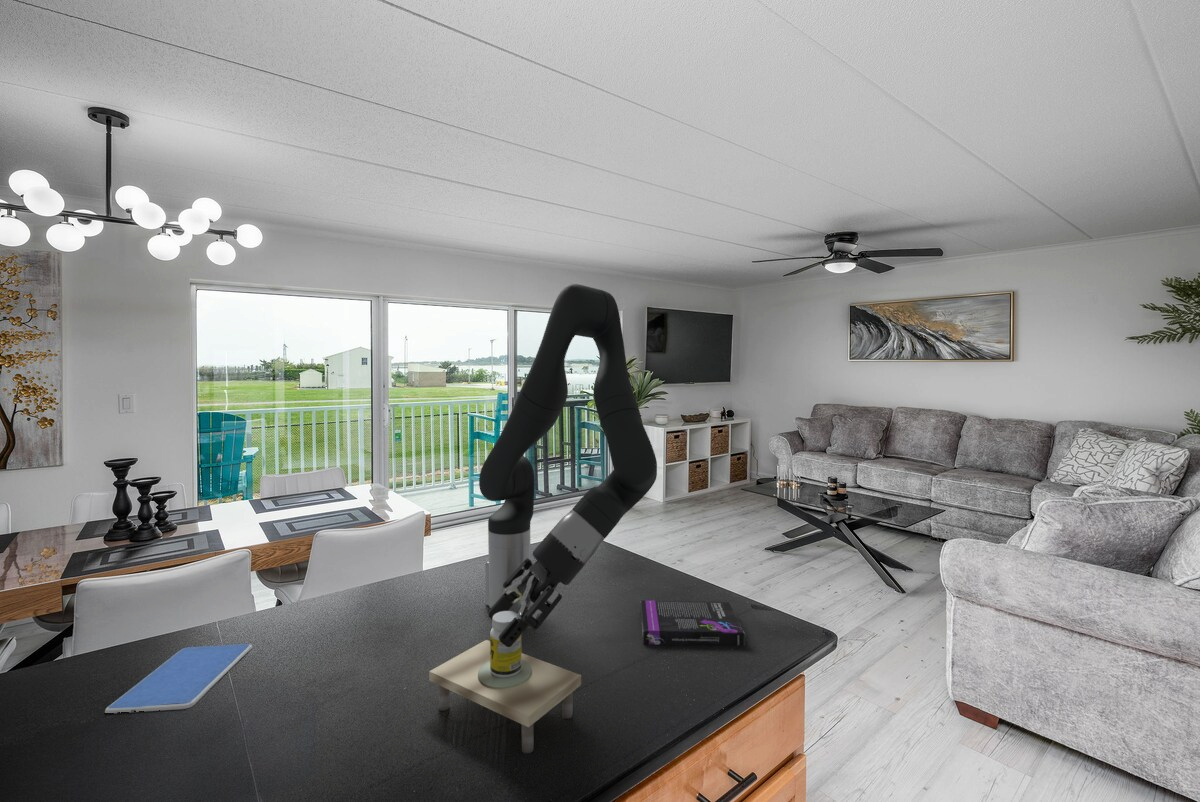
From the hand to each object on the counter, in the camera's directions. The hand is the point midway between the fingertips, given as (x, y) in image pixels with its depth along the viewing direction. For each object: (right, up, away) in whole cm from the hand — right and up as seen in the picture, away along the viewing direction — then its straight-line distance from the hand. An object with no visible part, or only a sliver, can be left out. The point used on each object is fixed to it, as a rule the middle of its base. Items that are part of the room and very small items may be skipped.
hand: (497, 630), depth 83 cm
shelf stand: (+1, -13, +1) cm, 13 cm away
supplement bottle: (+1, -7, +1) cm, 7 cm away
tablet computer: (-55, -13, +11) cm, 58 cm away
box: (+34, -12, +28) cm, 46 cm away
